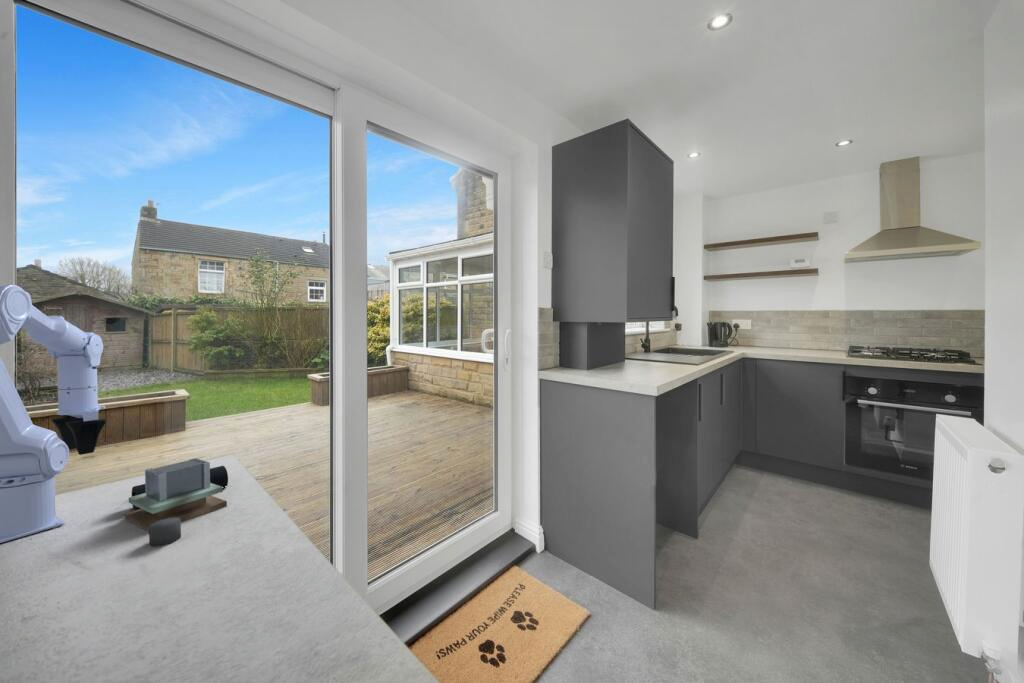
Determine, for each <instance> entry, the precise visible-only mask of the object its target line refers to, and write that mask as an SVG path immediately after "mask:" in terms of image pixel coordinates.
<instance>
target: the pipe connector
mask: <svg viewBox="0 0 1024 683" xmlns="http://www.w3.org/2000/svg"><path fill="white" fill-rule="evenodd" d="M210 483H212V484H215V485H218V486H221V487H225V486H227V487H228V484H229V475H228V470H227V468H226V466H225V465H219V466H215V467H210ZM225 488H226V487H225ZM143 493H146V491H145V483H143V484H139V485H133V486H132V489H131V497H133V496H136V495H140V494H143ZM132 509H133V511H136V510H139V509H141V508H139V507H137V506H135V505H132Z"/></svg>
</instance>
